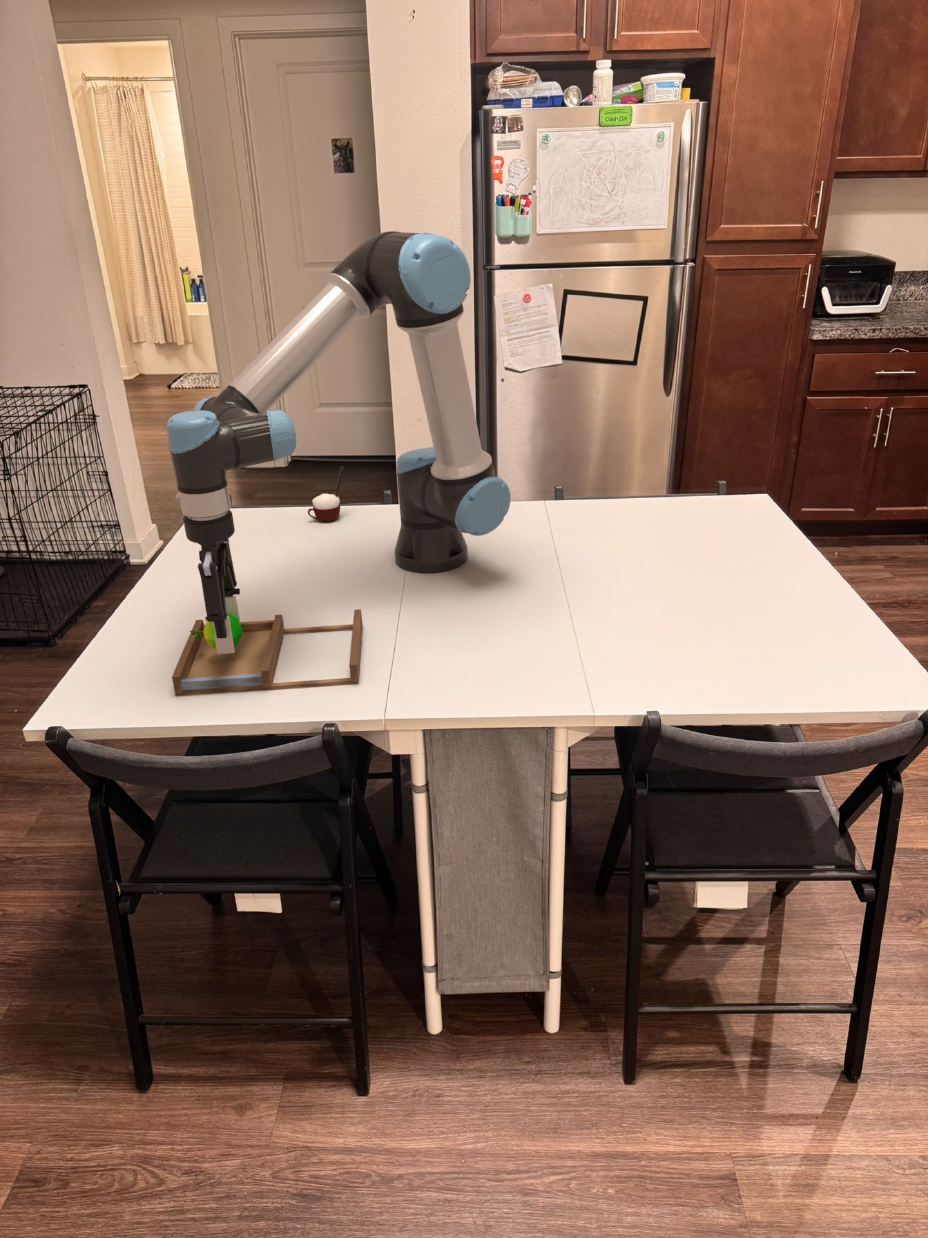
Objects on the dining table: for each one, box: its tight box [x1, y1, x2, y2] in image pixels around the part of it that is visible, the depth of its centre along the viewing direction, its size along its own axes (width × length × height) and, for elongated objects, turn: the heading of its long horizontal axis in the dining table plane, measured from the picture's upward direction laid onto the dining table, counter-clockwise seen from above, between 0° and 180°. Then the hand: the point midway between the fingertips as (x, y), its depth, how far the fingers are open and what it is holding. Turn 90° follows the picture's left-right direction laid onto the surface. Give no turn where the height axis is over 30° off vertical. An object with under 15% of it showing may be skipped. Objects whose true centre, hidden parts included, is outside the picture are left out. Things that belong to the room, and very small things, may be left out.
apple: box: [189, 613, 243, 649], centre depth 155 cm, size 7×6×9 cm
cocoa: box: [307, 465, 345, 523], centre depth 214 cm, size 10×6×12 cm, turn 91°
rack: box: [171, 608, 364, 697], centre depth 157 cm, size 29×20×4 cm
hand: (229, 641), depth 155 cm, fingers closed on apple, 7 cm apart
